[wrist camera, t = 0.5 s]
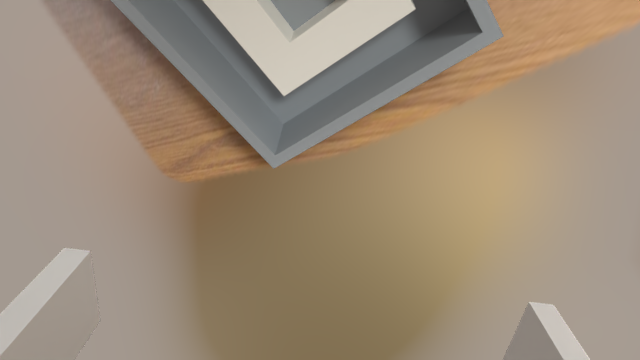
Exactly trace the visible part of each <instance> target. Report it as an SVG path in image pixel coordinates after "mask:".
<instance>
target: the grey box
mask: <svg viewBox="0 0 640 360" xmlns="http://www.w3.org/2000/svg"><path fill="white" fill-rule="evenodd" d="M111 1H112V2H113V3H114V4H115V6H116V7H117V8H118V9H119V10H120V11H121V12H122V13H123V14H124V15H125V16H126V17H127V18H128V19H129V20H130V21H131V22H132V23H133V24H134V25H135V26H136V27H137V28H138V29H139V30H140V31H141V32H142V33H143V34H144V35H145V36H146V37H147V39H148V40H149V41H150V42H151V43H152V44H153V45H154V46H155V47H156V48H157V49H158V50H159V51H160V52H161V53H162V54H163V55H164V56H165V57H166V58H167V59H168V60H169V61H170V62H171V63H172V64H173V65H174V66H175V67H176V68H177V69H178V70H179V72H180V73H181V74H182V75H183V76H184V77H185V78H186V79H187V80H188V81H189V82H190V83H191V84H192V85H193V86H194V87H195V88H196V89H197V90H198V91H199V92H200V93H201V94H202V95H203V96H204V97H205V98H206V99H207V100H208V101H209V102H210V103H211V105H212V106H213V107H214V108H215V109H216V110H217V111H218V112H219V113H220V114H221V115H222V116H223V117H224V118H225V119H226V120H227V121H228V122H229V123H230V124H231V125H232V126H233V127H234V128H235V129H236V130H237V131H238V132H239V133H240V134H241V135H242V136H243V138H244V139H245V140H246V141H247V142H248V143H249V144H250V145H251V146H252V147H253V148H254V149H255V150H256V151H257V152H258V153H259V154H260V155H261V156H262V157H263V158H264V159H265V160H266V161H267V162H268V163H269V164H270V165H271V166H272V167H273V168H276V167H278V166H279V165H281V164H283V163H285V162H286V161H288V160H290V159H291V158H293V157H295V156H297V155H298V154H300V153H302V152H304V151H305V150H307V149H309V148H311V147H312V146H314V145H316V144H318V143H319V142H321V141H323V140H324V139H326V138H328V137H330V136H331V135H333V134H335V133H337V132H338V131H340V130H342V129H344V128H345V127H347V126H349V125H350V124H352V123H354V122H356V121H357V120H359V119H361V118H363V117H364V116H366V115H368V114H370V113H371V112H373V111H375V110H377V109H378V108H380V107H382V106H383V105H385V104H387V103H389V102H390V101H392V100H394V99H396V98H397V97H399V96H401V95H403V94H404V93H406V92H408V91H409V90H411V89H413V88H415V87H416V86H418V85H420V84H422V83H423V82H425V81H427V80H429V79H430V78H432V77H434V76H436V75H437V74H439V73H441V72H442V71H444V70H446V69H448V68H449V67H451V66H453V65H455V64H456V63H458V62H460V61H462V60H463V59H465V58H467V57H468V56H470V55H472V54H474V53H475V52H477V51H479V50H481V49H482V48H484V47H486V46H488V45H489V44H491V43H493V42H495V41H496V40H498V39H500V38H501V37H503V34H502V31H501V29H500V27H499V25H498V23H497V21H496V19H495V17H494V15H493V13H492V10H491V8H490V6H489V4H488V2H487V0H111Z"/></svg>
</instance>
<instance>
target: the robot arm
mask: <svg viewBox="0 0 640 360" xmlns="http://www.w3.org/2000/svg"><path fill="white" fill-rule="evenodd" d="M99 322H100V314H99V306H98V299H97V292H96V285H95V277H94V271H93V263H92V256H91V251H88V250H80V249H71V248H63V250H62V251H61V252H60V253H59V254H58V255H57V256H56V257H55V258H54V259H53V260H52V261H51V262H50V263H49V264H48V265H47V266H46V267H45V268H44V269H43V270H42V271H41V272H40V273H39V274H38V275H37V276H36V277H35V278H34V280H32V282H31V283H30V284H29V285H28V286H27V287H26V288H25V289H24V290H23V291H22V292H21V293H20V294H19V295H18V296H17V297H16V298H15V299H14V300H13V301H12V302H11V303H10V304H9V305H8V306H7V307H6V308H5V309H4V311H2V313H1V314H0V360H75V359H76V357H77V356H78V354H79V353H80V351H81V349H82V348H83V347H84V345H85V344H86V342H87V341H88V339H89V337H90V336H91V334H92V333H93V331H94V330H95V328H96V327H97V325H98V324H99ZM503 360H590V359H589V357H588V356H587V354H586V353H585V351H584V350H583V348H582V347H581V345H580V344H579V342H578V341H577V339H576V338H575V336H574V335H573V333H572V332H571V330H570V329H569V327H568V326H567V324H566V323H565V321H564V320H563V318H562V317H561V315H560V314H559V312H558V311H557V309H556V308H555V306H554V305H552V304H543V303H535V302H529V303H528V305H527V307H526V309H525V312H524V314H523V316H522V318H521V320H520V323H519V325H518V327H517V329H516V331H515V334H514V336H513V338H512V340H511V343H510V345H509V347H508V349H507V351H506V354H505V356H504V358H503Z"/></svg>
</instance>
